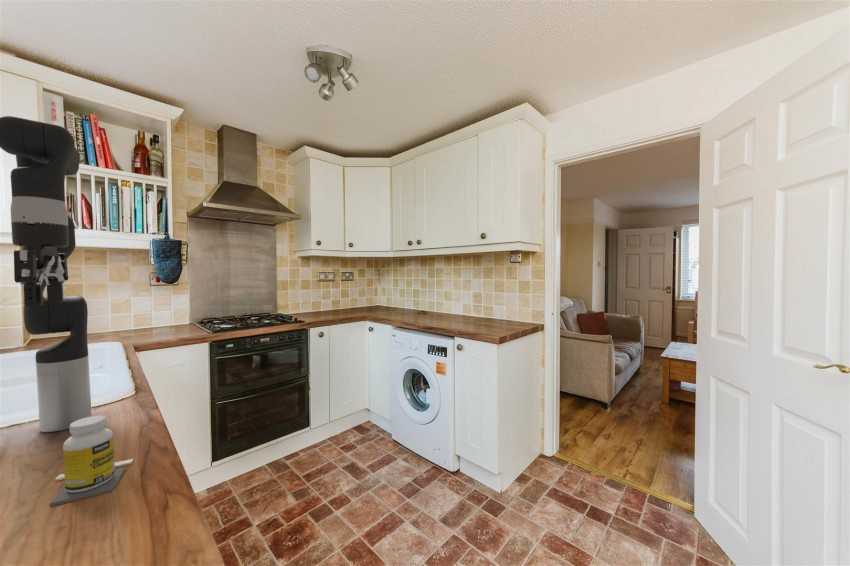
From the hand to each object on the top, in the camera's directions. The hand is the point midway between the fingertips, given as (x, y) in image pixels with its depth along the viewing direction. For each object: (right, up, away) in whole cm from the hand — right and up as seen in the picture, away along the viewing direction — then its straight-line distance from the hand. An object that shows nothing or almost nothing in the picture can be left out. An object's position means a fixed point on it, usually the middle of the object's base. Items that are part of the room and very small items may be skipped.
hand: (45, 303), depth 68 cm
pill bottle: (+15, -33, -6) cm, 37 cm away
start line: (+11, -33, -1) cm, 35 cm away
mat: (+15, -33, -6) cm, 37 cm away
